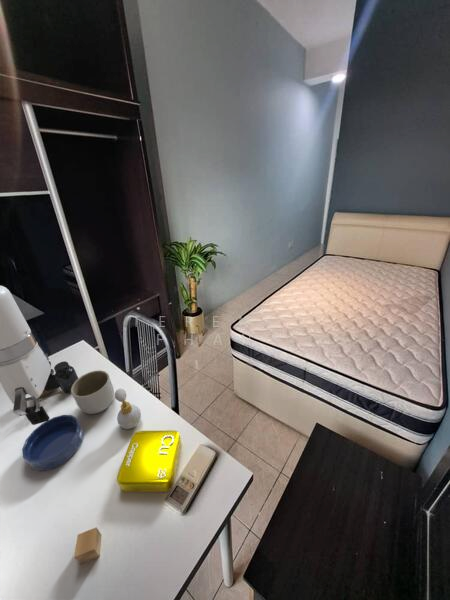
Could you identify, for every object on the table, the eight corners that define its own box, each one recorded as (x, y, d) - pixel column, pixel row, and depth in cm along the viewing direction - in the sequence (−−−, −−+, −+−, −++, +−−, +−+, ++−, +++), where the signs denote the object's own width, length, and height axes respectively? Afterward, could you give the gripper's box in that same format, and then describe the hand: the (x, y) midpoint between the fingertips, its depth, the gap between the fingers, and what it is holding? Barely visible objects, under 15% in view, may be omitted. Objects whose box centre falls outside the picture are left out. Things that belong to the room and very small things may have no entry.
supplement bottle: (58, 391, 99) (46, 369, 93) (72, 379, 105) (62, 357, 99) (70, 395, 97) (59, 373, 91) (84, 383, 103) (74, 361, 97)
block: (80, 564, 55) (74, 557, 53) (83, 541, 58) (77, 534, 56) (99, 556, 56) (94, 549, 54) (101, 534, 59) (96, 527, 57)
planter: (123, 397, 95) (116, 376, 90) (96, 423, 85) (86, 402, 80) (102, 386, 100) (94, 366, 95) (73, 410, 91) (63, 389, 86)
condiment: (34, 391, 100) (21, 369, 94) (58, 381, 104) (47, 359, 98) (35, 403, 95) (21, 380, 89) (60, 391, 99) (48, 369, 93)
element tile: (137, 438, 80) (133, 429, 78) (182, 438, 79) (180, 429, 77) (118, 492, 67) (113, 483, 64) (172, 492, 66) (169, 483, 64)
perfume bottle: (130, 437, 80) (121, 412, 75) (111, 424, 85) (101, 400, 79) (147, 418, 86) (139, 395, 80) (128, 407, 91) (119, 384, 85)
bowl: (21, 479, 71) (13, 470, 68) (38, 432, 84) (32, 423, 81) (79, 460, 75) (73, 451, 72) (87, 418, 87) (82, 409, 85)
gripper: (8, 327, 55) (40, 382, 64) (-35, 382, 41) (14, 444, 49) (46, 320, 57) (72, 373, 65) (17, 370, 43) (56, 431, 51)
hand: (47, 403), depth 57 cm, fingers open, 9 cm apart
